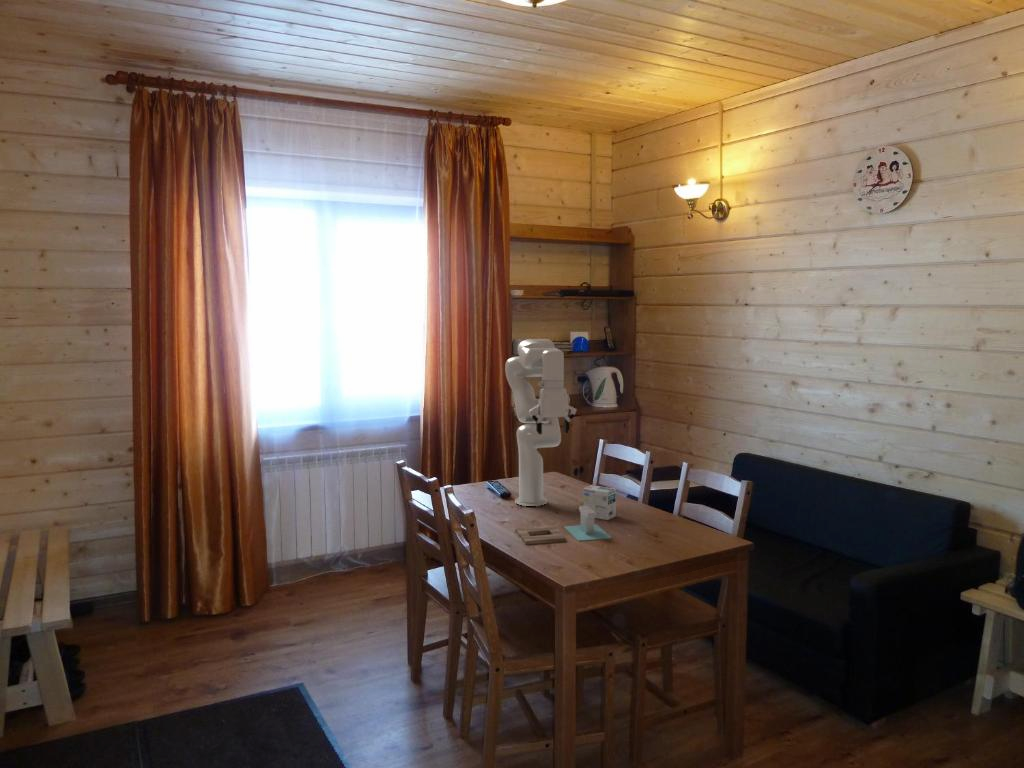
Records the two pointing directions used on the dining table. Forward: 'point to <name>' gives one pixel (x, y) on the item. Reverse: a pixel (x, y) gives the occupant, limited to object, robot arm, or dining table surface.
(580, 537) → the teal mat
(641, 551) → the dining table surface
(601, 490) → the light bulb box
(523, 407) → the robot arm
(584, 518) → the metal T-key
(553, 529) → the walnut slot plate
